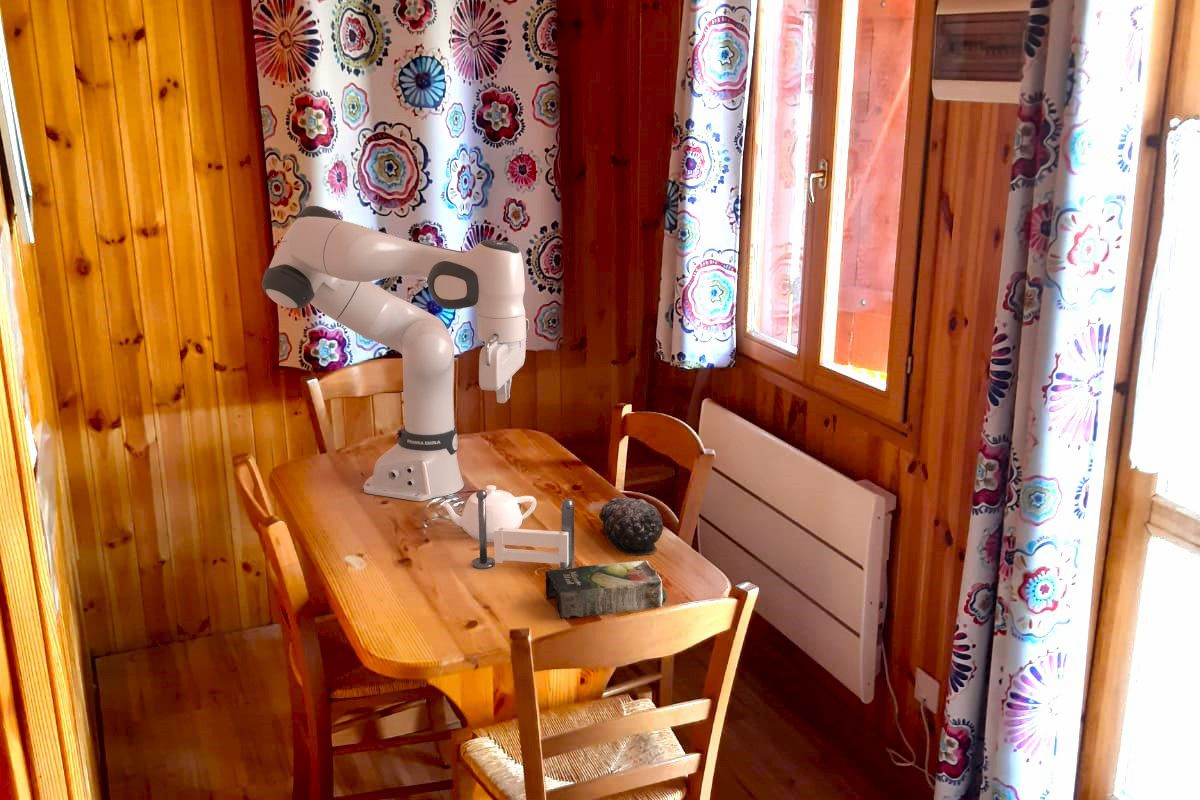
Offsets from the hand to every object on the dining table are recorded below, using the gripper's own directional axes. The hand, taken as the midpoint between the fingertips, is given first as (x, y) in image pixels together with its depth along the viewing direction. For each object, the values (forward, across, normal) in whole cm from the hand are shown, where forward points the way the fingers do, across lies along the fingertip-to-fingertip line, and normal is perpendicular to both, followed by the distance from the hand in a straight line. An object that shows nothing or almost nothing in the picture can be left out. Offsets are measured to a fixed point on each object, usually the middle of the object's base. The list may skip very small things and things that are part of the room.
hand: (503, 400), depth 205 cm
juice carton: (+32, -17, -22) cm, 43 cm away
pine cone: (+31, +10, -22) cm, 40 cm away
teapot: (+31, +9, +6) cm, 33 cm away
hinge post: (+31, -6, +3) cm, 32 cm away
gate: (+31, -6, -6) cm, 32 cm away
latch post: (+31, -3, -13) cm, 34 cm away
